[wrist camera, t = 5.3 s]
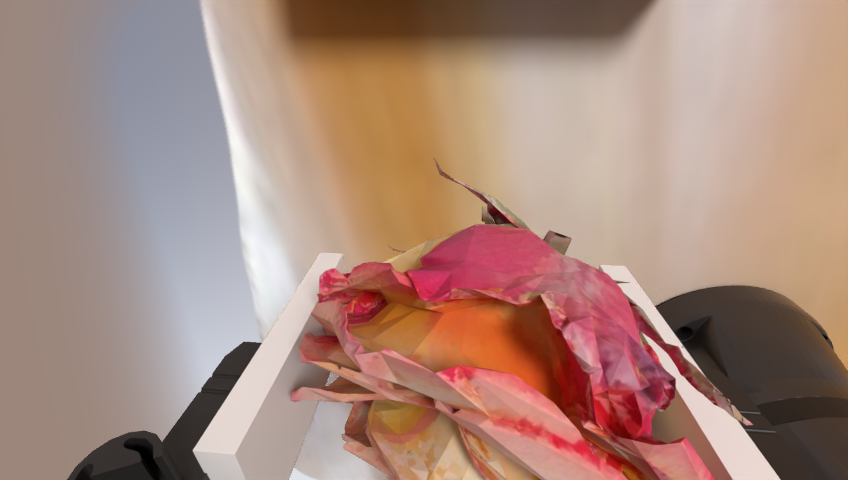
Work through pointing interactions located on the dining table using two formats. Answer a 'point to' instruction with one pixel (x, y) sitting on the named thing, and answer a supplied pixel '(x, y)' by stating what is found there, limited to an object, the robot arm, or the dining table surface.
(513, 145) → the dining table surface
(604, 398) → the flower
